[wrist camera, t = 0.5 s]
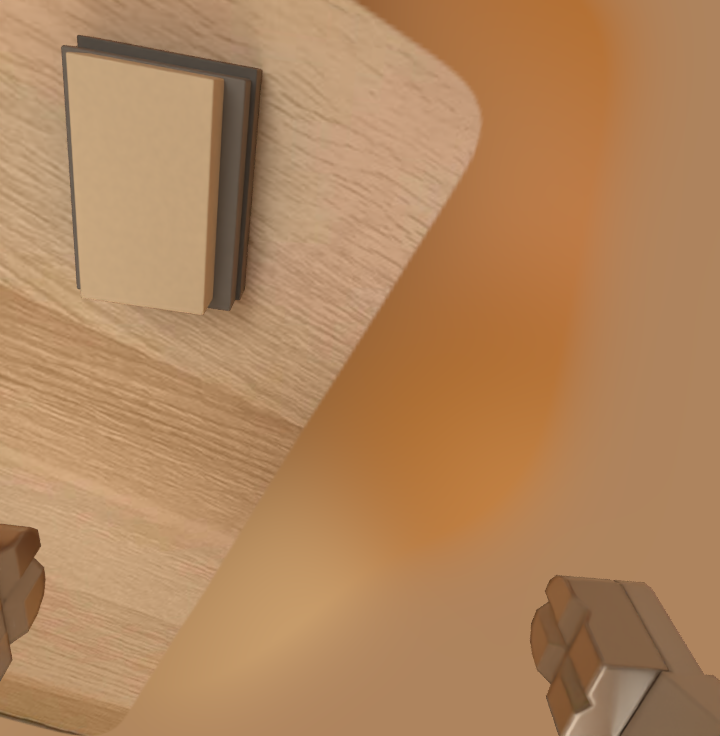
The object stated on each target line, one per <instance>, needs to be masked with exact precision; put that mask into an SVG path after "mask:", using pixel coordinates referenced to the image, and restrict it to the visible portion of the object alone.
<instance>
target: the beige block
mask: <svg viewBox="0 0 720 736" xmlns="http://www.w3.org/2000/svg"><path fill="white" fill-rule="evenodd" d="M66 63H67V79H68V95H69V111H70V127H71V143H72V159H73V176H74V192H75V208H76V224H77V240H78V256H79V272H80V288H81V298H86V299H93V300H100V301H106V302H113V303H120V304H127V305H134V306H141V307H148V308H155V309H162V310H169V311H176V312H183V313H190V314H197V315H204V313H205V311H206V309H207V308H208V306H209V304H210V302H211V301H212V299H213V285H214V266H215V247H216V228H217V209H218V191H219V172H220V153H221V134H222V115H223V96H224V79H223V78H218V77H213V76H207V75H202V74H197V73H191V72H186V71H181V70H175V69H170V68H165V67H159V66H154V65H149V64H144V63H138V62H133V61H128V60H122V59H117V58H112V57H106V56H101V55H96V54H90V53H78V52H66Z"/></svg>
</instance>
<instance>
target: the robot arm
mask: <svg viewBox="0 0 720 736" xmlns="http://www.w3.org/2000/svg"><path fill="white" fill-rule="evenodd" d="M40 547H41V544H40V538H39V533H38V530H37V529H34V528H32V527H24V526H16V525H7V524H0V681H1V679H2V677H3V676H4V674H5V672H6V670H7V669H8V667H9V665H10V663H11V661H12V655H11V649H10V644H11V643H13V642H14V641H15V640H17V639H18V638H20V637H21V636H23V635H24V634H26V633H27V632H28V631H29V629H30V627H31V626H32V624H33V622H34V620H35V618H36V616H37V614H38V611H39V608H40V605H41V602H42V599H43V596H44V589H45V571H44V567H43V566H42V565H41V564H40V563H39V562H38V561H37V560H36V559H35V558H34V556H35V555H36V553H37V552H38V550H39V548H40ZM545 593H546V595H547V598H548V601H549V602H547V603H546V604H544V605H543V606H541V607H540V608H539V609H537V610H536V613H535V615H534V618H533V620H532V623H531V635H530V643H531V649H532V655H533V659H534V662H535V665H536V668H537V670H538V671H539V672H540V673H541V674H542V675H543V677H544V678H545V679H546V680H547V681H548V682H549V683H550V684H551V685H550V687H549V690H548V693H547V695H546V699H547V702H548V705H549V708H550V711H551V714H552V717H553V720H554V723H555V726H556V729H557V732H558V735H559V736H720V680H718V679H717V678H716V677H715V676H713V675H704V673H703V672H702V670H701V668H700V667H699V665H698V663H697V662H696V660H695V659H694V657H693V655H692V654H691V652H690V650H689V649H688V647H687V645H686V644H685V642H684V641H683V639H682V637H681V636H680V634H679V632H678V631H677V629H676V627H675V626H674V624H673V623H672V621H671V619H670V617H669V616H668V614H667V613H666V611H665V609H664V608H663V606H662V604H661V603H660V601H659V599H658V598H657V596H656V595H655V593H654V591H653V590H652V589H651V588H650V587H649V586H648V585H647V584H645V583H644V582H631V581H620V580H613V581H612V580H610V579H596V578H585V577H572V576H560V575H556V576H555V577H553V578H552V579H551V580H550V581H549V583H548V585H547V588H546V590H545Z"/></svg>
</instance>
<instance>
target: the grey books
mask: <svg viewBox="0 0 720 736" xmlns="http://www.w3.org/2000/svg"><path fill="white" fill-rule="evenodd" d="M77 42H78V47H77V46H66V45H63V46H62V47H61V50H62V65H63V80H64V96H65V111H66V126H67V142H68V157H69V173H70V188H71V203H72V219H73V234H74V249H75V265H76V280H77V289H81V288H80V272H79V256H78V240H77V224H76V208H75V192H74V176H73V159H72V143H71V127H70V111H69V95H68V79H67V63H66V52H78V53H90V54H96V55H101V56H106V57H112V58H117V59H122V60H128V61H133V62H138V63H144V64H149V65H154V66H159V67H165V68H170V69H175V70H181V71H186V72H191V73H197V74H202V75H207V76H213V77H218V78H223V79H224V96H223V115H222V134H221V153H220V172H219V191H218V209H217V228H216V247H215V266H214V285H213V299H212V301H211V302H210V304H209V306H208V308H212V309H219V310H226V311H230V310H231V308H232V305H233V303H234V301H235V300H240V298H241V296H242V294H243V292H244V289H245V277H246V265H247V252H248V240H249V227H250V215H251V203H252V190H253V178H254V165H255V153H256V140H257V128H258V115H259V103H260V90H261V78H262V70H261V69H258V68H253V67H247V66H242V65H237V64H232V63H226V62H221V61H216V60H211V59H205V58H200V57H195V56H190V55H185V54H179V53H174V52H169V51H164V50H158V49H153V48H148V47H143V46H137V45H132V44H127V43H122V42H117V41H111V40H106V39H101V38H96V37H90V36H82V35H77Z"/></svg>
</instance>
